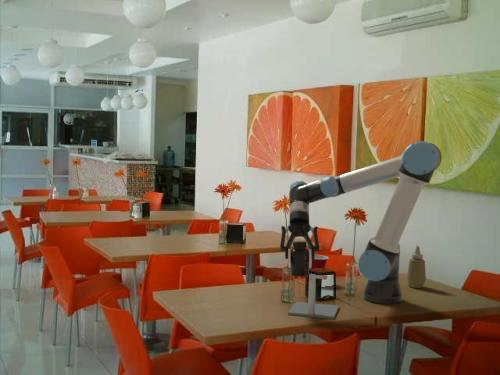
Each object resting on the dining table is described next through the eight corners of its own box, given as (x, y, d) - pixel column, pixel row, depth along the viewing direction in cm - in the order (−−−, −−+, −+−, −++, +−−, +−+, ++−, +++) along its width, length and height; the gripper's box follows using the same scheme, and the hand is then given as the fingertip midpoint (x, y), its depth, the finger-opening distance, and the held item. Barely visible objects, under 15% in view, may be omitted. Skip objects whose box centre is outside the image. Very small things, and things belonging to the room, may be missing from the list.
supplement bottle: (305, 272, 222) (305, 240, 221) (311, 276, 215) (312, 242, 214) (287, 273, 220) (287, 241, 219) (294, 277, 213) (294, 243, 212)
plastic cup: (329, 285, 260) (330, 257, 260) (304, 284, 260) (305, 257, 260) (326, 280, 271) (327, 253, 270) (302, 279, 271) (303, 252, 271)
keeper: (338, 307, 222) (340, 268, 221) (333, 319, 206) (335, 276, 205) (296, 303, 226) (297, 265, 225) (288, 314, 210) (289, 273, 209)
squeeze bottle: (405, 288, 259) (407, 246, 258) (406, 284, 267) (408, 244, 266) (425, 289, 257) (427, 248, 256) (425, 286, 264) (427, 245, 263)
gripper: (324, 222, 231) (327, 272, 216) (273, 222, 232) (272, 271, 217) (325, 209, 225) (328, 260, 210) (273, 209, 227) (272, 259, 211)
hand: (299, 265), depth 214 cm, fingers closed on supplement bottle, 7 cm apart
